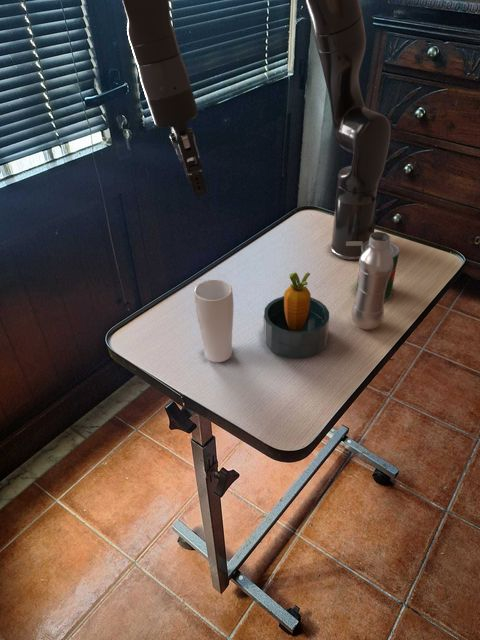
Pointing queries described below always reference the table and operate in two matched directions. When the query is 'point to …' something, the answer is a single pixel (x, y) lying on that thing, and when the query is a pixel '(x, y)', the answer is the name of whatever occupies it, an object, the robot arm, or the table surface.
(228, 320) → the drinking glass
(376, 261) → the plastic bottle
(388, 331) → the table surface
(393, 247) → the canned tomato
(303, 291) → the carrot
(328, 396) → the table surface
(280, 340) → the pot
